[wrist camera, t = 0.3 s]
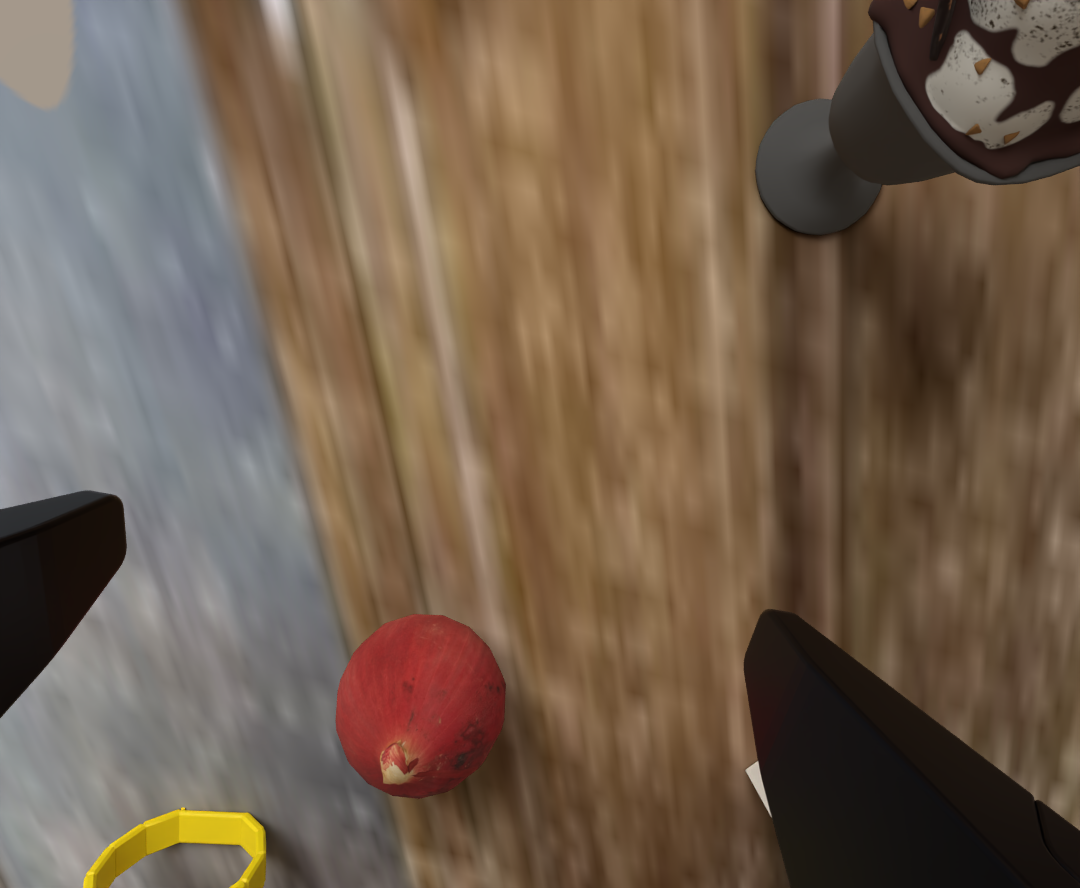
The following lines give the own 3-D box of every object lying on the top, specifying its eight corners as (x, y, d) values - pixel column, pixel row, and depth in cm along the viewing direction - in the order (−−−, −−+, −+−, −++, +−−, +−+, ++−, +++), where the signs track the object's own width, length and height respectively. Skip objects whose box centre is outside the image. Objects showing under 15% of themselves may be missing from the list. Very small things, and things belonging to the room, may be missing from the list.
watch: (150, 846, 27) (32, 978, 21) (150, 785, 27) (30, 903, 21) (288, 861, 27) (208, 999, 21) (289, 800, 26) (209, 923, 21)
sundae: (939, 185, 24) (1598, -108, 9) (796, 292, 25) (1212, 172, 10) (845, 37, 24) (1394, -533, 9) (699, 149, 24) (987, -216, 9)
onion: (531, 623, 26) (535, 734, 18) (470, 742, 26) (446, 901, 19) (402, 562, 26) (347, 649, 18) (342, 684, 26) (262, 822, 18)
